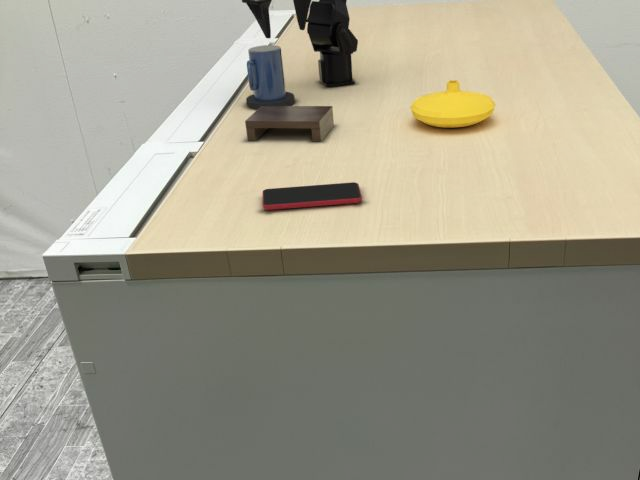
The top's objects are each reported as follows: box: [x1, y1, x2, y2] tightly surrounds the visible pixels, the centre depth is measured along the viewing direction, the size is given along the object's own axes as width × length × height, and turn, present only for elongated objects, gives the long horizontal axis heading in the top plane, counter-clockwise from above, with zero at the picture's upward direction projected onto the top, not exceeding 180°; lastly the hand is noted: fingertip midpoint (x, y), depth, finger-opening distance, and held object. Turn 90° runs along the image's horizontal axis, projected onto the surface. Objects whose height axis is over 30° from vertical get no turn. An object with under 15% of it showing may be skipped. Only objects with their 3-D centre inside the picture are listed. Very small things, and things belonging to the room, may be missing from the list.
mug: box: [246, 44, 287, 101], centre depth 167 cm, size 8×7×9 cm
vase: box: [410, 79, 496, 128], centre depth 152 cm, size 16×16×7 cm
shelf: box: [244, 105, 335, 143], centre depth 153 cm, size 10×14×4 cm
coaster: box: [245, 91, 296, 111], centre depth 171 cm, size 10×10×1 cm
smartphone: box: [262, 181, 363, 211], centre depth 126 cm, size 7×1×15 cm
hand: (285, 34), depth 166 cm, fingers open, 9 cm apart
